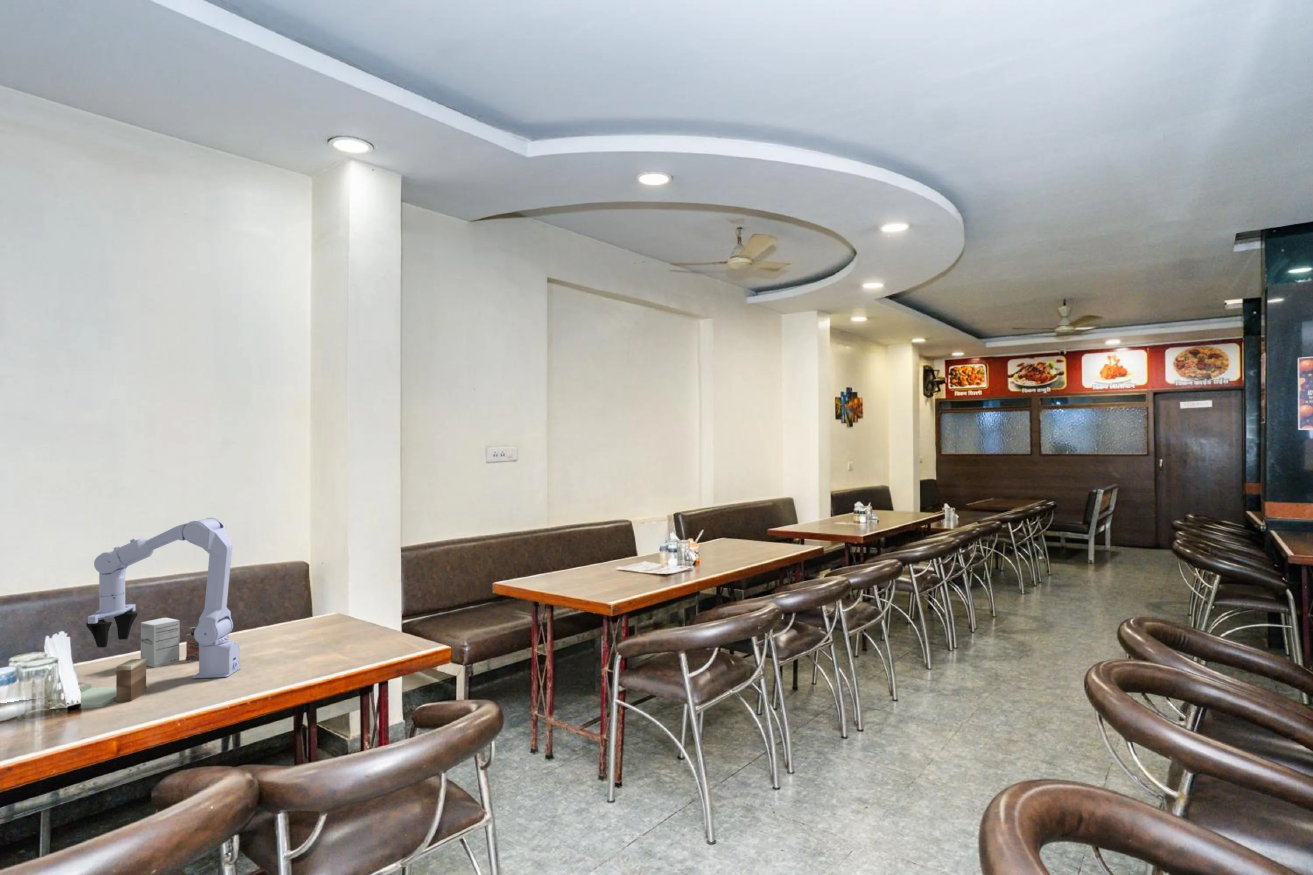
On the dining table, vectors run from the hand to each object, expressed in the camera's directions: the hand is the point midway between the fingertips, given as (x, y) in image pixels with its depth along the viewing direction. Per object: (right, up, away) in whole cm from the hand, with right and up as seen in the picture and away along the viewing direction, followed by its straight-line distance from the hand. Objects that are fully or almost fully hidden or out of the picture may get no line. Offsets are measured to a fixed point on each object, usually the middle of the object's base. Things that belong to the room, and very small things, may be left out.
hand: (112, 642), depth 193 cm
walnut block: (+17, -10, -15) cm, 24 cm away
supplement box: (+3, -10, +14) cm, 18 cm away
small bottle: (+13, -10, +18) cm, 24 cm away
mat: (+8, -10, -16) cm, 20 cm away
